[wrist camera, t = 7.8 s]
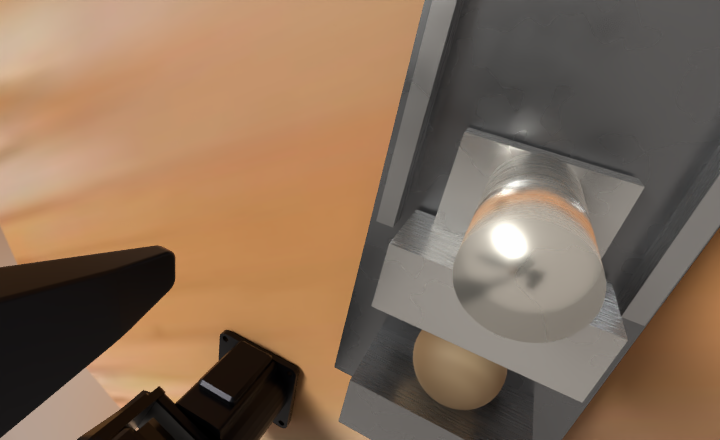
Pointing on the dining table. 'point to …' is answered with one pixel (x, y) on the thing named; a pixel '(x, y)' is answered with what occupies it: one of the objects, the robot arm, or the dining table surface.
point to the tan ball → (455, 373)
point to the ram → (516, 262)
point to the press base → (554, 134)
